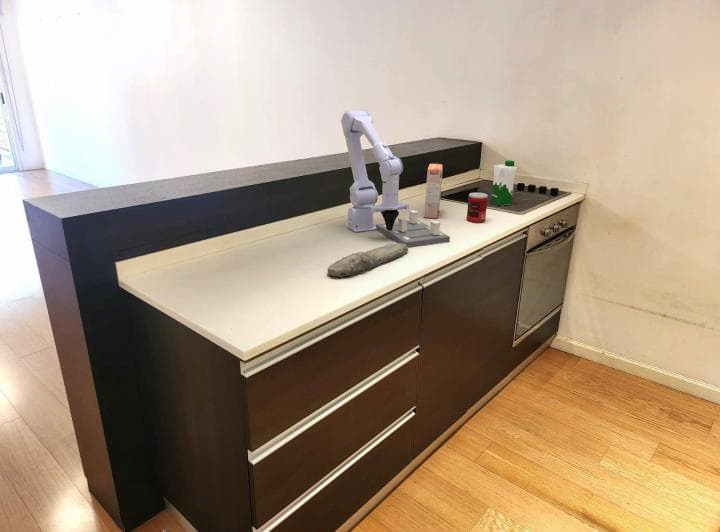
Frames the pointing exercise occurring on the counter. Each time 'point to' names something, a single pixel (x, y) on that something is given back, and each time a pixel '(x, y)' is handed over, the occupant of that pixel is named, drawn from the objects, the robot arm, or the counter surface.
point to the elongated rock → (366, 260)
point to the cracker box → (433, 190)
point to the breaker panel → (413, 234)
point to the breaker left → (413, 216)
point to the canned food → (477, 207)
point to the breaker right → (435, 227)
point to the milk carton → (503, 183)
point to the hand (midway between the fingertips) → (389, 229)
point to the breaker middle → (402, 224)
